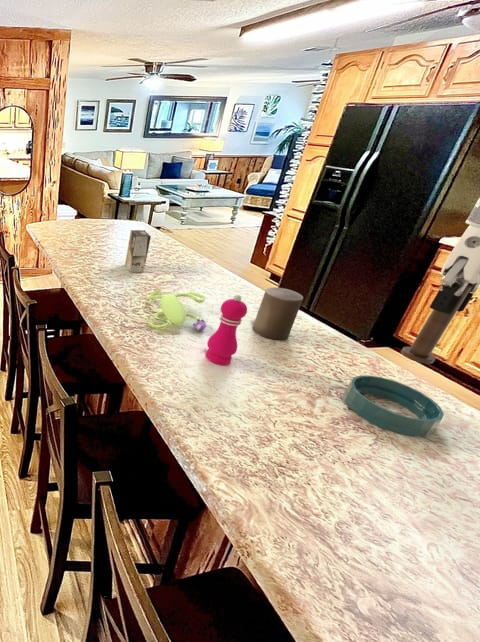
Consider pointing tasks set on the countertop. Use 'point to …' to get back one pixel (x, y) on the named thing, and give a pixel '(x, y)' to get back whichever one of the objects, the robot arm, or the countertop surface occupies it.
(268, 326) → the pillar candle
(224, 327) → the pepper mill
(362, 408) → the ring
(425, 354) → the stick
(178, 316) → the figurine
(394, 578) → the countertop surface
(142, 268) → the coffee box
